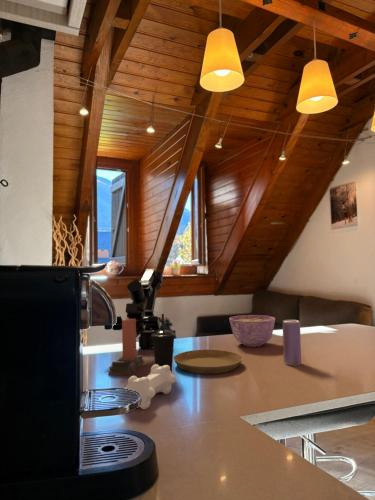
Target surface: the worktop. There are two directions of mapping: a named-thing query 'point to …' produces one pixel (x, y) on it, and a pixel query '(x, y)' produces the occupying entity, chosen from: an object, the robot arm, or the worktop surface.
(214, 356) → the plant saucer
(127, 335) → the post
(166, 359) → the drinking cup
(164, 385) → the bone shaped toy
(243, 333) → the bowl of food
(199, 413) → the worktop surface
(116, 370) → the press track
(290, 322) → the beverage can
